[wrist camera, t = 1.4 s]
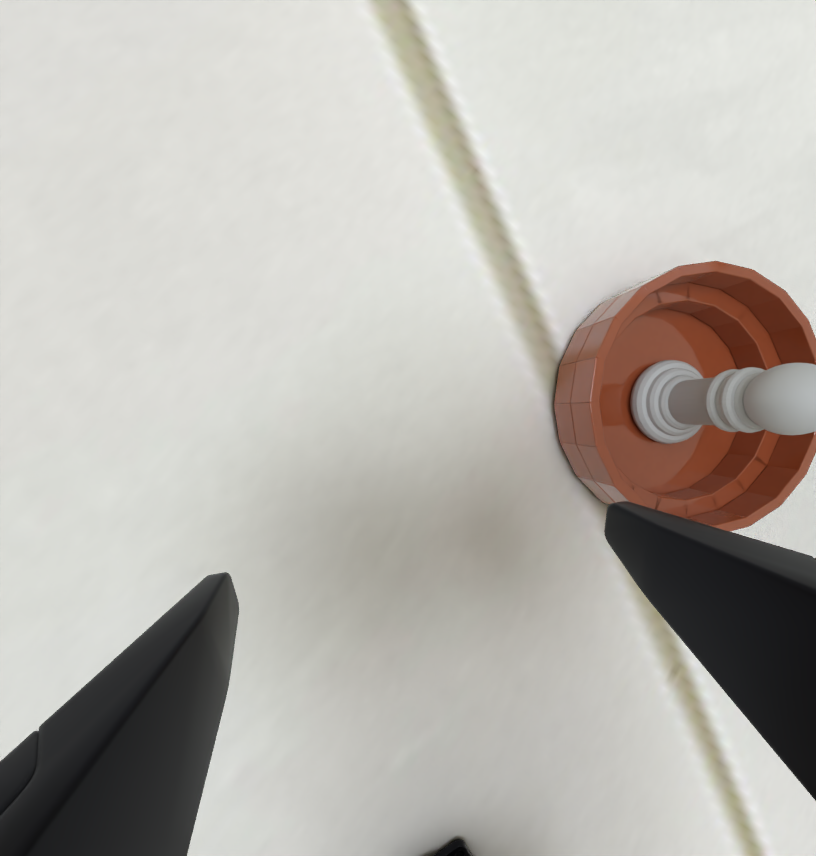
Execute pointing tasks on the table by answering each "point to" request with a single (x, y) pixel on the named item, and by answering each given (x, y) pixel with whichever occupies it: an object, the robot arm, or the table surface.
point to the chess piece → (724, 400)
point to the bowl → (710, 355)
